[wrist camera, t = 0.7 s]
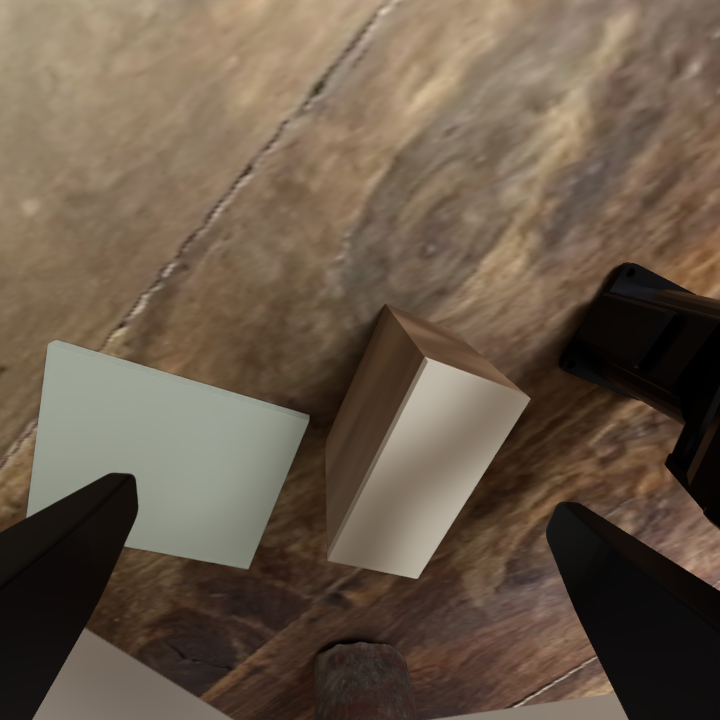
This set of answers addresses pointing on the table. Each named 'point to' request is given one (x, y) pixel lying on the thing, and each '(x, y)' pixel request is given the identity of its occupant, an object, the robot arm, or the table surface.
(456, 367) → the walnut slab
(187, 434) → the sage mat
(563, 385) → the table surface
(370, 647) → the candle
